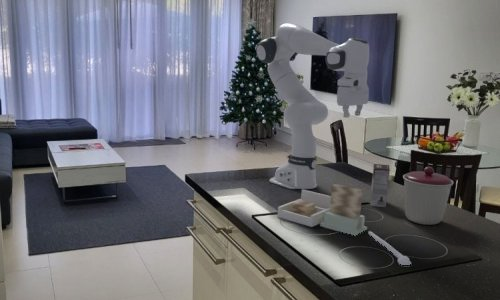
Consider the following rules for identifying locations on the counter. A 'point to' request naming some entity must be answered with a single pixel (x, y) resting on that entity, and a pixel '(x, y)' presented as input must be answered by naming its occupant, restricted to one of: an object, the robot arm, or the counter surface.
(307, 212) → the offcut stack
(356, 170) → the counter surface
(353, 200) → the birch panel
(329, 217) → the holder
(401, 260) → the white ladle
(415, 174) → the canister
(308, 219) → the rack
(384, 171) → the coffee box
